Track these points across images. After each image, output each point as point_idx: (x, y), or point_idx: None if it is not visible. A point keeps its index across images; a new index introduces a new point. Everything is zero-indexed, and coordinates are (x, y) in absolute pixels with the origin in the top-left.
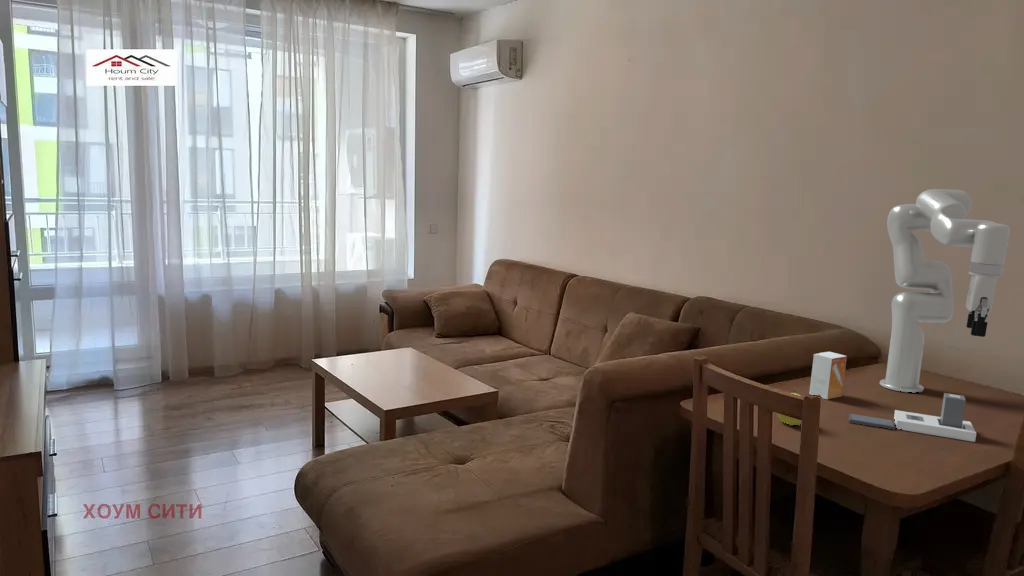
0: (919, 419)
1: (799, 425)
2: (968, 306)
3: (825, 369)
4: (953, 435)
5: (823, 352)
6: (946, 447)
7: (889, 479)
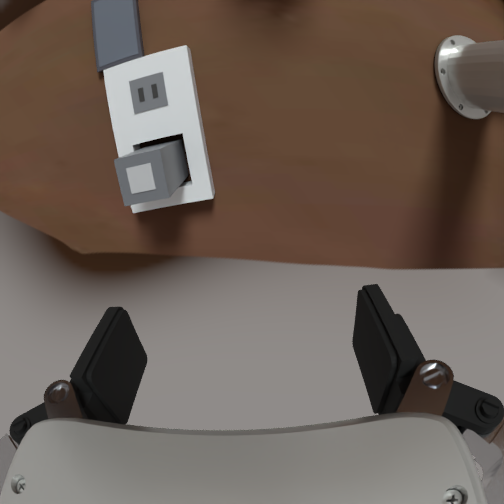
0: (140, 103)
1: None
2: (93, 460)
3: None
4: None
5: None
6: (71, 169)
7: None
